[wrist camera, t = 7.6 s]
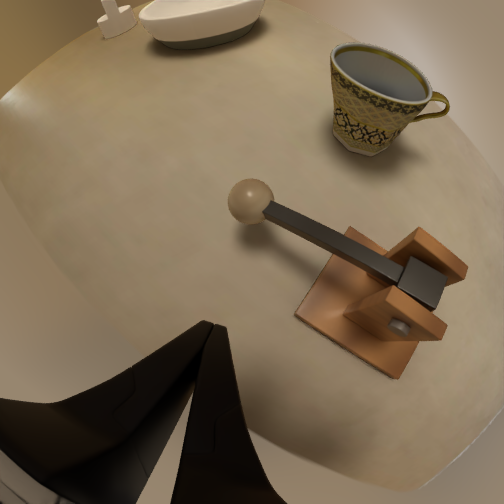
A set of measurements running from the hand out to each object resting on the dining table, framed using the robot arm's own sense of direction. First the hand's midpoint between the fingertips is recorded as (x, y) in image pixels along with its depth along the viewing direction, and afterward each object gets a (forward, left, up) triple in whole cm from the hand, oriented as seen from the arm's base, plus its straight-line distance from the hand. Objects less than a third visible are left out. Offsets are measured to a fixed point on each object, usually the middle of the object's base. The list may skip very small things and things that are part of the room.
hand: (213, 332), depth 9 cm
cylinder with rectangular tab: (+35, +65, -14) cm, 75 cm away
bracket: (+8, -8, -13) cm, 17 cm away
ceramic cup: (+25, 0, -14) cm, 29 cm away
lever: (+8, -2, -9) cm, 12 cm away
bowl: (+37, +36, -14) cm, 54 cm away
